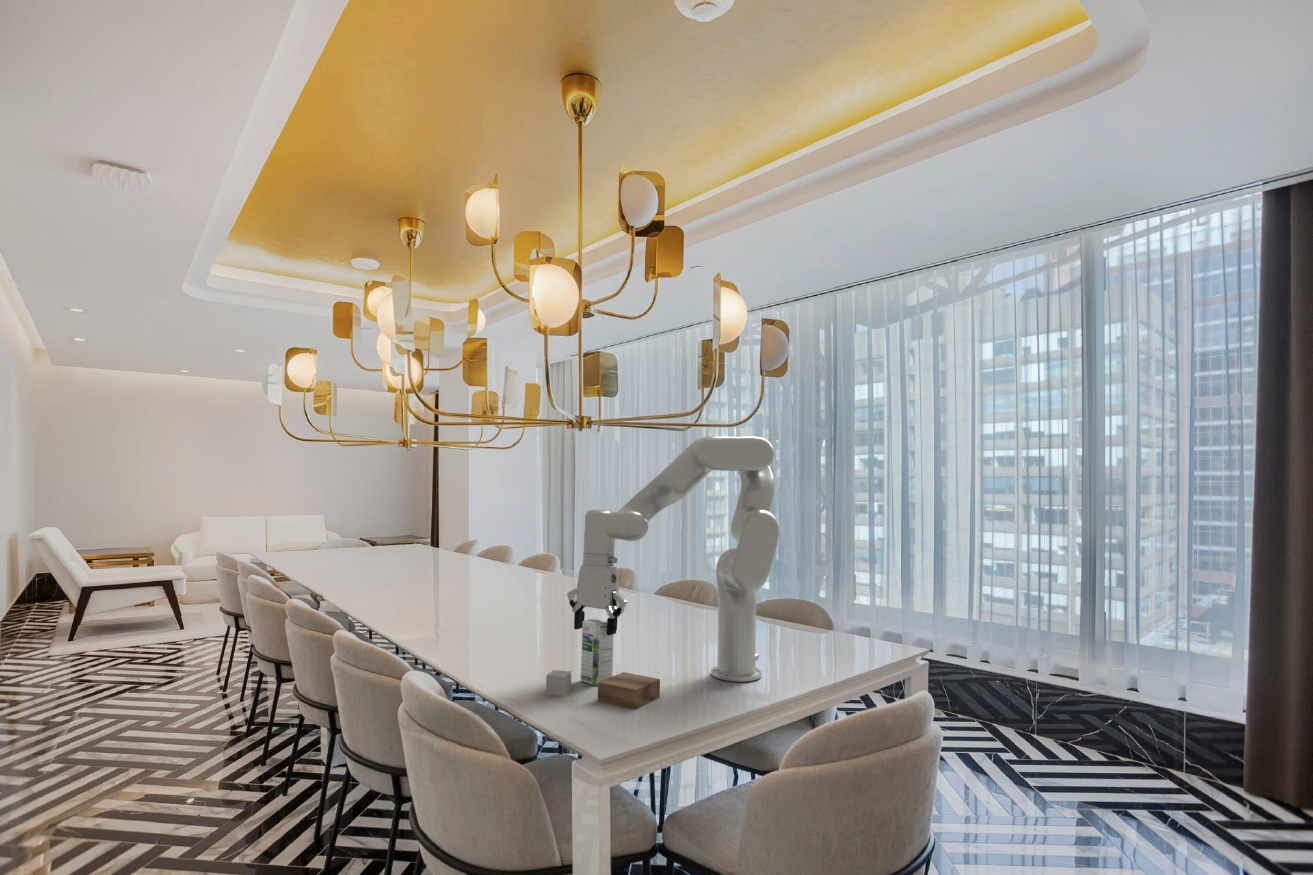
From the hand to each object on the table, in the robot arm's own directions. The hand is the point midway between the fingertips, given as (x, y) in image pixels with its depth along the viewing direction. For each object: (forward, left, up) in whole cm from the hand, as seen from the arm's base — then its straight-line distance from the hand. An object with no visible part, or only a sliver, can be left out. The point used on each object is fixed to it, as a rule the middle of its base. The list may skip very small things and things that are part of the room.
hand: (595, 631), depth 168 cm
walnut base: (+7, +14, -12) cm, 20 cm away
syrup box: (0, 0, -12) cm, 12 cm away
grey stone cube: (+12, -2, -12) cm, 17 cm away
